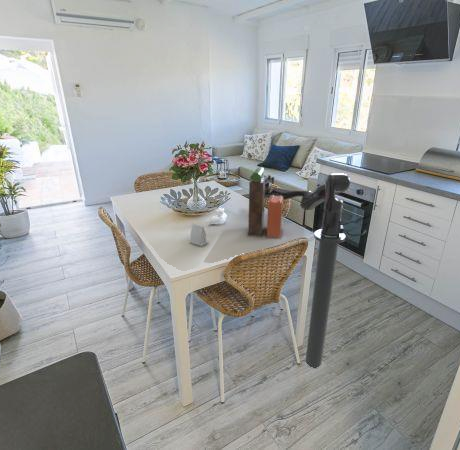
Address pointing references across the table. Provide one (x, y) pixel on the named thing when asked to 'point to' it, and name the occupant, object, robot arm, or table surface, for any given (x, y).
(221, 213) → the bust
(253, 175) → the bottle
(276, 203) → the bottle holder
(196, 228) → the grey tapered block
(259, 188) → the post
